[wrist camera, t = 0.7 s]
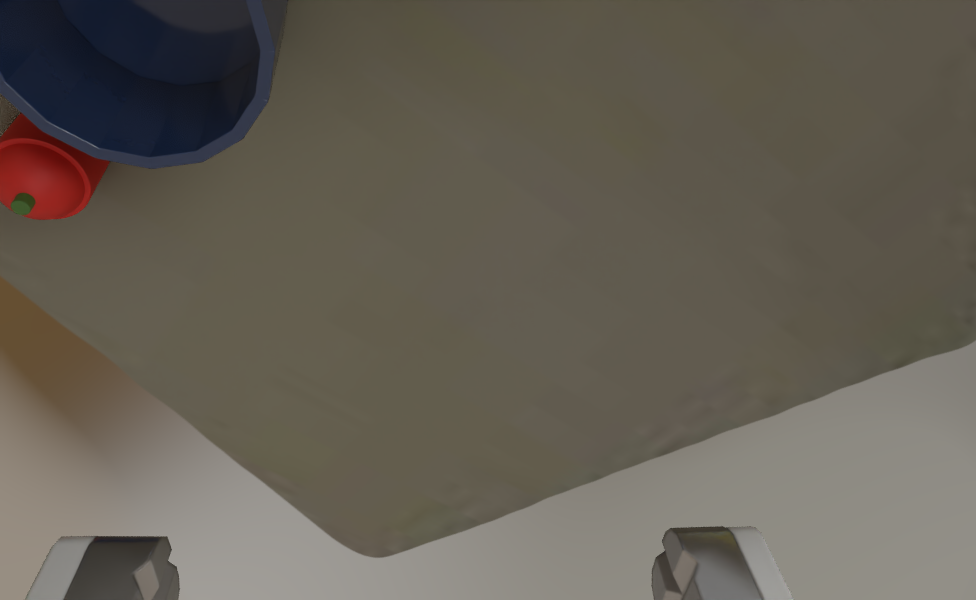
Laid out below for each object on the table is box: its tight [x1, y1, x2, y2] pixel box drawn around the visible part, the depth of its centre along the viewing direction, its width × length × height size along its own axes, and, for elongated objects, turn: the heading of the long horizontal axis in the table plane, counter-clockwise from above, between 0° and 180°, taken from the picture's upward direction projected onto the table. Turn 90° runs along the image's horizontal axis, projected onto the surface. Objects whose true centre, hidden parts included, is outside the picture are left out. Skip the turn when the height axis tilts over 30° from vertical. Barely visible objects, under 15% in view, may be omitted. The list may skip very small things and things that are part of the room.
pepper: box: [0, 113, 110, 220], centre depth 42 cm, size 6×6×8 cm
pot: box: [0, 0, 288, 169], centre depth 36 cm, size 13×13×10 cm
